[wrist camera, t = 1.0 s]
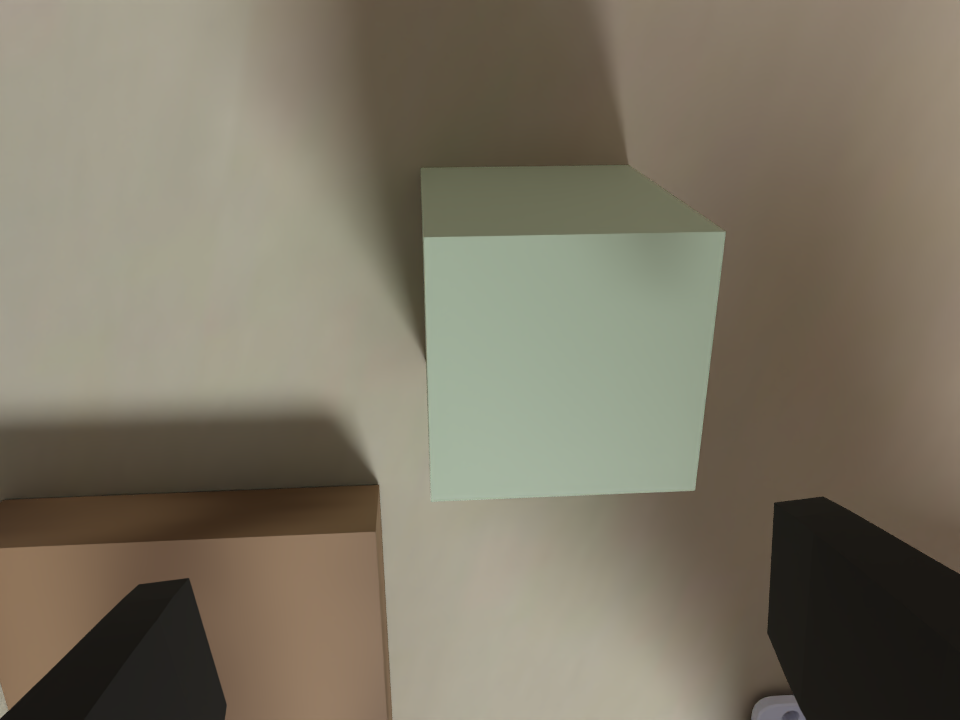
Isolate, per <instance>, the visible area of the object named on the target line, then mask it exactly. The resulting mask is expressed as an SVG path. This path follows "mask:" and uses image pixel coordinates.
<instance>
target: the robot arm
mask: <svg viewBox="0 0 960 720" xmlns="http://www.w3.org/2000/svg"><path fill="white" fill-rule="evenodd" d="M767 633H768V636H769V638H770V640H771V643H772V645H773V648H774V650H775V652H776V655H777V657H778V660H779V662H780V665H781V667H782V669H783V672H784V674H785V676H786V679H787V681H788V683H789V685H790V688H791V690H792V692H793V694H794V695H781V696H769V697H764V698H763V699H761V700H759V701H758V702H757V703H756V704H755V706H754V708H753V711H752V716H751V720H960V574H958V573H957V572H955V571H953V570H951V569H950V568H948V567H946V566H944V565H943V564H941V563H939V562H937V561H936V560H934V559H932V558H930V557H929V556H927V555H925V554H923V553H922V552H920V551H918V550H917V549H915V548H913V547H911V546H910V545H908V544H906V543H905V542H903V541H901V540H899V539H898V538H896V537H894V536H893V535H891V534H889V533H887V532H886V531H884V530H882V529H881V528H879V527H877V526H875V525H874V524H872V523H870V522H868V521H867V520H865V519H863V518H862V517H860V516H858V515H856V514H855V513H853V512H851V511H849V510H847V509H846V508H844V507H842V506H840V505H838V504H836V503H834V502H832V501H830V500H829V499H827V498H825V497H816V498H808V499H801V500H793V501H785V502H777V503H774V518H773V537H772V556H771V575H770V594H769V613H768V631H767ZM226 708H227V704H226V700H225V697H224V693H223V690H222V687H221V683H220V680H219V677H218V673H217V670H216V667H215V663H214V660H213V656H212V653H211V650H210V646H209V643H208V640H207V636H206V633H205V630H204V626H203V623H202V619H201V616H200V613H199V609H198V606H197V603H196V599H195V596H194V592H193V589H192V586H191V582H190V579H189V578H184V579H176V580H169V581H161V582H153V583H145V584H139V585H137V586H136V587H135V588H134V589H133V590H132V591H131V592H130V593H129V594H127V595H126V596H125V597H124V598H123V599H122V600H121V601H120V602H119V603H118V604H117V605H116V606H115V607H114V608H113V609H112V610H111V611H110V612H109V613H107V614H106V615H105V616H104V617H103V618H102V619H101V620H100V621H99V622H98V623H97V624H96V625H95V626H94V627H93V628H92V629H91V630H90V631H89V632H88V633H87V634H86V635H85V636H84V637H83V638H82V639H81V640H80V641H79V642H78V643H77V644H76V645H75V646H74V647H73V648H72V649H71V650H70V651H69V652H68V653H67V654H66V655H65V656H64V657H63V658H62V659H61V660H60V661H59V662H58V663H57V664H56V665H55V666H54V667H53V668H52V669H51V670H50V671H49V672H48V673H47V674H46V675H45V676H44V677H43V678H42V679H41V680H40V681H39V682H38V683H37V684H36V685H35V686H33V687H32V688H31V689H30V690H29V691H28V692H27V693H26V694H25V695H24V696H23V697H22V698H21V699H20V700H19V701H18V702H17V703H16V704H15V705H14V706H13V707H12V708H11V709H10V710H9V711H8V712H7V713H6V714H5V715H4V716H3V717H2V718H1V719H0V720H225V715H226ZM788 711H790V712H788ZM786 712H788V713H786Z"/></svg>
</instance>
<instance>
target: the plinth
mask: <svg viewBox="0 0 960 720" xmlns="http://www.w3.org/2000/svg"><path fill="white" fill-rule="evenodd" d="M184 578H189V579H190V582H191V586H192V589H193V592H194V596H195V599H196V603H197V606H198V609H199V613H200V616H201V619H202V623H203V626H204V630H205V633H206V636H207V640H208V643H209V646H210V650H211V653H212V656H213V660H214V663H215V667H216V670H217V673H218V677H219V680H220V683H221V687H222V690H223V693H224V697H225V700H226V704H227V708H226V715H225V720H392V704H391V686H390V669H389V651H388V633H387V616H386V598H385V580H384V563H383V545H382V527H381V509H380V492H379V485H362V486H337V487H312V488H287V489H262V490H237V491H212V492H187V493H162V494H137V495H112V496H87V497H62V498H38V499H13V500H3V501H2V502H1V503H0V683H1V686H2V690H3V693H4V696H5V700H6V703H7V706H8V710H10V709H11V708H12V707H13V706H14V705H15V704H16V703H17V702H18V701H19V700H20V699H21V698H22V697H23V696H24V695H25V694H26V693H27V692H28V691H29V690H30V689H31V688H32V687H33V686H35V685H36V684H37V683H38V682H39V681H40V680H41V679H42V678H43V677H44V676H45V675H46V674H47V673H48V672H49V671H50V670H51V669H52V668H53V667H54V666H55V665H56V664H57V663H58V662H59V661H60V660H61V659H62V658H63V657H64V656H65V655H66V654H67V653H68V652H69V651H70V650H71V649H72V648H73V647H74V646H75V645H76V644H77V643H78V642H79V641H80V640H81V639H82V638H83V637H84V636H85V635H86V634H87V633H88V632H89V631H90V630H91V629H92V628H93V627H94V626H95V625H96V624H97V623H98V622H99V621H100V620H101V619H102V618H103V617H104V616H105V615H106V614H107V613H109V612H110V611H111V610H112V609H113V608H114V607H115V606H116V605H117V604H118V603H119V602H120V601H121V600H122V599H123V598H124V597H125V596H126V595H127V594H129V593H130V592H131V591H132V590H133V589H134V588H135V587H136V586H137V585H139V584H145V583H153V582H161V581H169V580H176V579H184Z"/></svg>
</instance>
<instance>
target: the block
mask: <svg viewBox="0 0 960 720" xmlns="http://www.w3.org/2000/svg"><path fill="white" fill-rule="evenodd" d="M421 202H422V237H423V272H424V307H425V342H426V374H427V402H428V431H429V459H430V488H431V502H435V501H459V500H483V499H507V498H532V497H556V496H580V495H604V494H628V493H652V492H676V491H695V486H696V478H697V469H698V461H699V453H700V444H701V436H702V428H703V419H704V411H705V402H706V394H707V386H708V377H709V369H710V360H711V352H712V344H713V335H714V327H715V318H716V310H717V302H718V293H719V285H720V277H721V268H722V260H723V251H724V243H725V235H726V231H724V230H723V229H721V228H720V227H718V226H717V225H715V224H714V223H713V222H711V221H710V220H708V219H707V218H705V217H704V216H702V215H701V214H699V213H698V212H697V211H695V210H694V209H692V208H691V207H689V206H688V205H686V204H685V203H683V202H682V201H680V200H679V199H678V198H676V197H675V196H673V195H672V194H670V193H669V192H667V191H666V190H664V189H663V188H662V187H660V186H659V185H657V184H656V183H654V182H653V181H651V180H650V179H648V178H647V177H645V176H644V175H643V174H641V173H640V172H638V171H637V170H635V169H634V168H632V167H631V166H629V165H587V166H512V167H437V168H421Z"/></svg>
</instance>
